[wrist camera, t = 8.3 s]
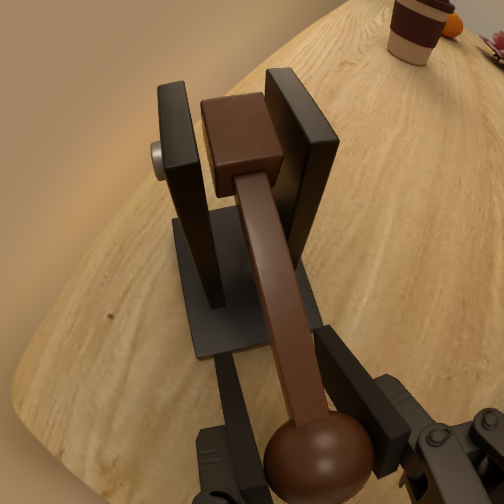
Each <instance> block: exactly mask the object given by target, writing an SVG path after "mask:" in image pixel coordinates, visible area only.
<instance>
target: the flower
mask: <svg viewBox="0 0 504 504" xmlns="http://www.w3.org/2000/svg"><path fill="white" fill-rule="evenodd" d="M479 37H481V38H482V39H483V40H484V43H486V44H487V45H488V46H489V47H490V48H491V49H492V50H493V51H494V52H495V54H494V55H493V56H494V57H497V62H498V61H499V60H500V59H503V60H504V32H503V31H501V30H500V31H499V33H498V34H497V33H495V34H494V35H493V39H494V42H495V45H494V43H492V42H491V41H489V40H488V39H487V38H485V37H483V36H481V35H479Z"/></svg>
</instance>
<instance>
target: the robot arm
mask: <svg viewBox="0 0 504 504" xmlns="http://www.w3.org/2000/svg"><path fill="white" fill-rule="evenodd" d="M313 332H314V346H315V354H316V358H317V362H318V366H319V370H320V375H321V379H322V383H323V387H324V389H325V390H326V392H327V394H328V395H329V397H330V399H331V401H332V402H333V404H334V406H335V407H336V409H337V411H338V412H341V413H344V414H346V415H348V416H350V417H352V418H354V419H355V420H356V421H358V422H359V423H360V424H361V425H362V426H363V427H364V428H365V429H366V431H367V433H368V434H369V436H370V438H371V440H372V443H373V447H374V465H373V469H372V470H373V472H374V474H375V475H376V477H377V479H380V478H382V477H385V476H387V475H389V474H391V473H393V472H395V471H397V468H398V466H399V463H400V465H401V466H402V468H403V469H404V472H403V474H402V476H401V478H400V481H399V488H402V486H403V485H404V483H405V486H406V488H407V491H408V494H409V497H410V499H411V502H412V504H504V414H503V413H502V412H500V411H498V410H497V409H494V408H485V409H482V410H481V411H479V412H478V413H477V414H476V415H475V417H474V419H473V420H472V421H469V422H466V423H462V424H459V425H455V426H448V425H446V424H443V423H437V422H435V421H434V420H433V419H432V418H431V417H430V416H429V415H428V413H427V412H426V411H425V410H424V409H423V408H422V407H421V405H420V404H419V403H418V402H417V401H416V400H415V398H414V397H413V396H411V394H410V393H409V392H408V390H407V389H405V387H404V386H403V385H402V384H401V382H400V381H399V380H398V379H396V378H394V377H392V376H390V375H389V374H384V375H382V376H380V377H377V378H375V379H372V377H371V376H370V375H369V374H368V372H367V371H366V370H365V369H364V367H363V366H362V365H361V364H360V362H359V361H358V360H357V359H356V357H355V356H354V355H353V354H352V352H351V351H350V350H349V349H348V347H347V346H346V345H345V344H344V342H343V341H342V340H341V339H340V337H339V336H338V335H337V334H336V332H335V331H334V330H333V329H332V327H331V326H330V325H326V326H322V327H319V328H316V329H313ZM214 361H215V367H216V374H217V380H218V386H219V392H220V398H221V403H222V409H223V415H224V420H225V425H221V426H216V427H211V428H205V429H200V432H199V434H198V437H197V439H196V449H197V460H198V469H199V478H200V487H201V492H200V493H199V494H198V495H197V496H195V497H194V499H193V502H192V504H274V503H273V500H272V497H271V493H270V490H269V487H268V483H267V480H266V478H265V474H264V470H263V466H262V463H261V459H260V456H259V452H258V449H257V445H256V442H255V438H254V435H253V431H252V427H251V424H250V420H249V416H248V412H247V409H246V405H245V401H244V397H243V393H242V390H241V386H240V382H239V379H238V375H237V371H236V367H235V364H234V360H233V356H232V352H231V351H227V352H223V353H218V354H214Z"/></svg>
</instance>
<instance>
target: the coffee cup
mask: <svg viewBox="0 0 504 504" xmlns="http://www.w3.org/2000/svg"><path fill="white" fill-rule="evenodd" d="M454 9H455V6H454V5H453V4H451V3H450V2H449V0H395V3H394V8H393V14H392V19H391V24H390V29H391V31H390V36H389V41H388V49H389V51H390V52H391V53H392V54H393V55H395V56H396V57H398V58H400V59H401V60H404V61H406V62H408V63H411V64H414V65H419V66H422V65H425V64H426V62H427V60H428V58H429V56H430V54H431V52H432V50H433V48H435V47H436V44H437V42H438V40H439V38H440V36H441V34H442V32H443V30H444V27H445V25H446V20H447V17H448V15H449V14H453V13H454Z"/></svg>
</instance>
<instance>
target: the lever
mask: <svg viewBox="0 0 504 504" xmlns="http://www.w3.org/2000/svg"><path fill="white" fill-rule="evenodd" d="M200 106H201V116H202V126H203V136H204V142H205V147H206V152H207V156H208V161H209V166H210V170H211V175H212V180H213V184H214V189H215V193H216V197H217V198H223V197H228V196H233V195H234V198H235V202H236V206H237V210H238V215H239V219H240V223H241V227H242V231H243V235H244V239H245V243H246V247H247V251H248V255H249V259H250V263H251V267H252V271H253V276H254V280H255V284H256V288H257V292H258V296H259V300H260V304H261V308H262V312H263V316H264V320H265V324H266V328H267V332H268V336H269V340H270V344H271V348H272V352H273V356H274V360H275V364H276V368H277V372H278V376H279V380H280V384H281V388H282V392H283V396H284V400H285V404H286V408H287V412H288V416H289V420H288V421H286V422H285V423H284V424H283V425H281V426H280V427H279V428H278V429H277V430H276V432H275V433H274V434H273V435H272V437H271V439H270V440H269V442H268V444H267V446H266V449H265V453H264V459H263V469H264V474H265V478H266V480H267V482H268V485H269V486H270V488H271V489H272V490H273V492H274V493H275V494H276V495H277V496H278V497H279V498H281V499H282V500H283V501H285V502H287V503H288V504H342V503H344V502H346V501H348V500H349V499H351V498H352V497H353V496H355V495H356V494H357V493H358V492H359V491H360V490H361V489H362V488H363V486H364V485H365V484H366V482H367V481H368V479H369V477H370V474H371V472H372V469H373V465H374V447H373V443H372V440H371V438H370V436H369V434H368V433H367V431H366V429H365V428H364V427H363V426H362V425H361V424H360V423H359V422H358V421H356V420H355V419H354V418H352V417H350V416H348V415H346V414H344V413H341V412H337V411H332V410H328V405H327V401H326V396H325V392H324V388H323V383H322V379H321V375H320V370H319V366H318V362H317V358H316V354H315V350H314V345H313V341H312V337H311V333H310V329H309V325H308V321H307V317H306V313H305V309H304V306H303V302H302V298H301V294H300V290H299V286H298V282H297V279H296V275H295V271H294V267H293V264H292V260H291V256H290V253H289V249H288V245H287V242H286V238H285V235H284V231H283V227H282V224H281V220H280V217H279V213H278V210H277V206H276V203H275V199H274V196H273V193H272V189H271V188H274V187H275V184H276V181H277V178H278V175H279V172H280V169H281V166H282V163H283V160H284V156H285V154H284V151H283V148H282V145H281V142H280V139H279V136H278V133H277V131H276V128H275V125H274V122H273V119H272V117H271V114H270V111H269V108H268V106H267V103H266V100H265V98H264V95H263V93H262V92H256V93H248V94H240V95H233V96H226V97H220V98H213V99H207V100H202V101H201V103H200Z"/></svg>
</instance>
